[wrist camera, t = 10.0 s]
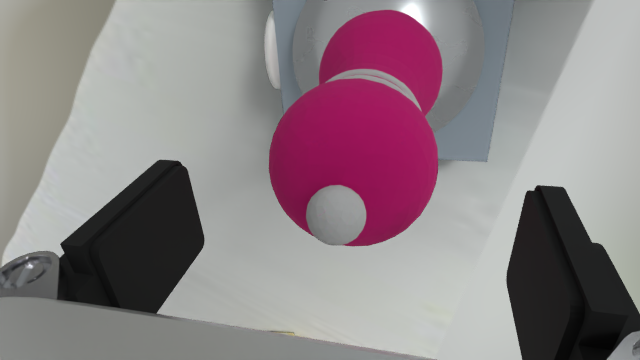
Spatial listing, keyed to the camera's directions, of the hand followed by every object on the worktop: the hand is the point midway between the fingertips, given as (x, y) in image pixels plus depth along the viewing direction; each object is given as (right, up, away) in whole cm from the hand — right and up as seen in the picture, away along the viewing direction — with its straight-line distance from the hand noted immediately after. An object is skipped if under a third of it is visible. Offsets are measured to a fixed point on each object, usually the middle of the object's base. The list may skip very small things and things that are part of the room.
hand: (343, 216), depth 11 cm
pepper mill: (+4, +9, +17) cm, 20 cm away
